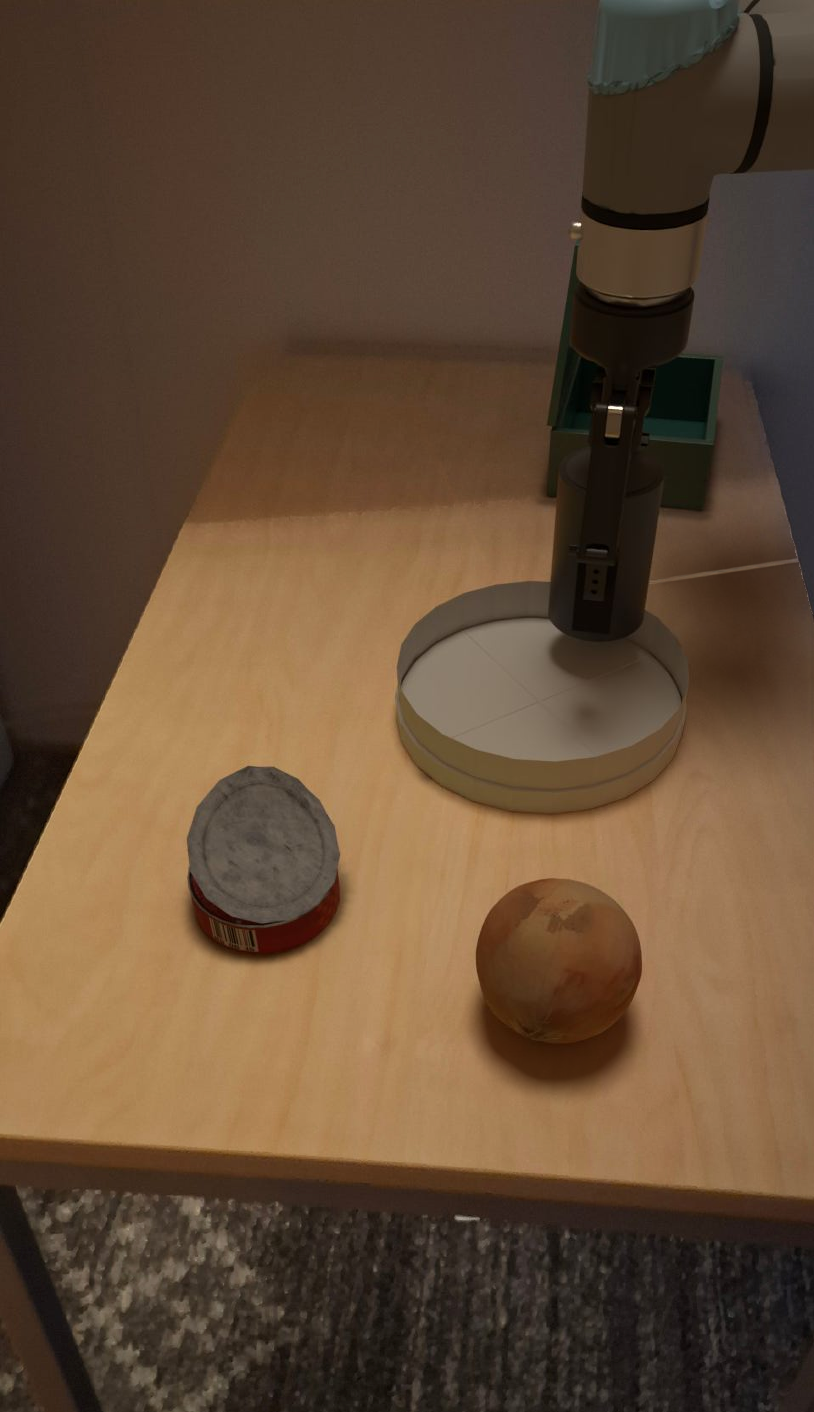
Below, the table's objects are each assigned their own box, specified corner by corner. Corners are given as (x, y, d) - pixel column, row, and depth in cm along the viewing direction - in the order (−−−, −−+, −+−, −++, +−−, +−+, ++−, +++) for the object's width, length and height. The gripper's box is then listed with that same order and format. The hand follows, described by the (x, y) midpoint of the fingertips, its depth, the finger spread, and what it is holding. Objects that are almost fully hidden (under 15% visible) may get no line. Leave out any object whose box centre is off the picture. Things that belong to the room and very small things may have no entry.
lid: (609, 172, 106) (600, 170, 106) (584, 246, 94) (574, 245, 94) (580, 341, 117) (572, 340, 117) (555, 427, 106) (546, 425, 106)
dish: (497, 858, 80) (499, 806, 77) (345, 688, 93) (341, 636, 90) (743, 744, 88) (756, 692, 84) (570, 601, 101) (575, 550, 97)
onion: (634, 954, 75) (655, 846, 67) (629, 1086, 68) (651, 983, 61) (484, 937, 76) (488, 829, 68) (464, 1065, 69) (466, 962, 62)
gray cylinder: (625, 580, 94) (643, 438, 85) (657, 634, 89) (680, 489, 80) (536, 594, 93) (546, 451, 84) (564, 648, 88) (577, 503, 79)
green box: (711, 426, 121) (723, 356, 115) (700, 518, 109) (714, 444, 103) (570, 415, 123) (576, 345, 118) (545, 504, 111) (550, 431, 106)
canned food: (326, 899, 84) (387, 810, 78) (293, 1001, 77) (356, 912, 71) (184, 829, 82) (234, 731, 76) (135, 926, 75) (186, 827, 68)
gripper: (597, 209, 81) (573, 488, 97) (545, 367, 65) (527, 671, 81) (707, 215, 80) (664, 497, 96) (681, 377, 64) (635, 684, 80)
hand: (601, 577), depth 88 cm, fingers open, 13 cm apart
